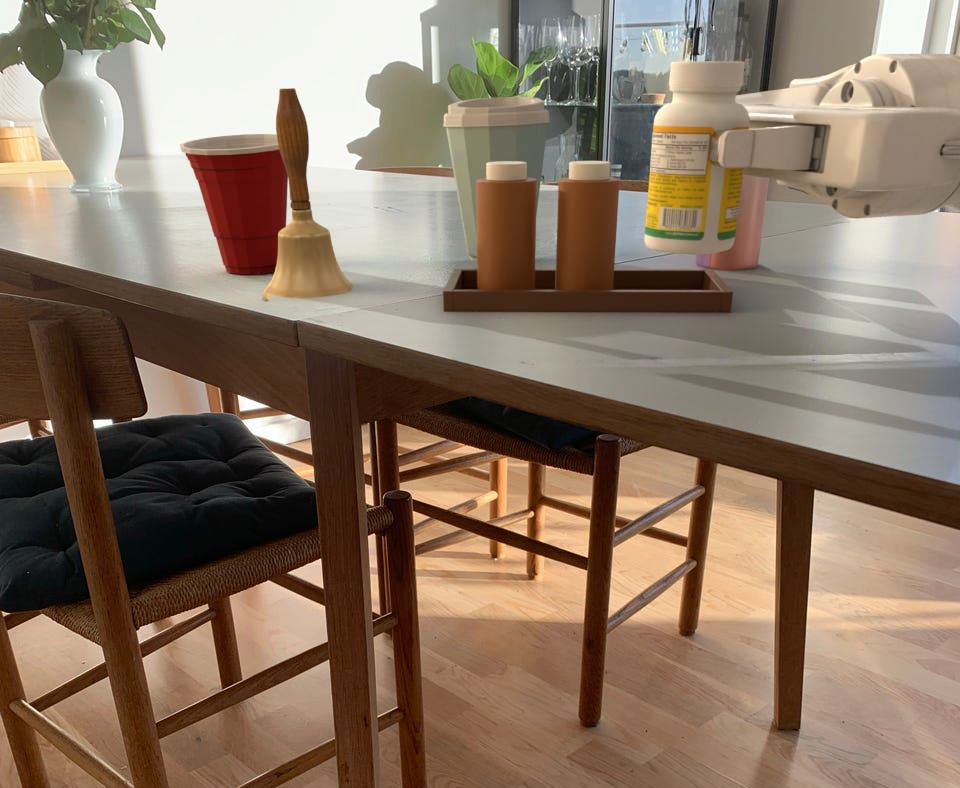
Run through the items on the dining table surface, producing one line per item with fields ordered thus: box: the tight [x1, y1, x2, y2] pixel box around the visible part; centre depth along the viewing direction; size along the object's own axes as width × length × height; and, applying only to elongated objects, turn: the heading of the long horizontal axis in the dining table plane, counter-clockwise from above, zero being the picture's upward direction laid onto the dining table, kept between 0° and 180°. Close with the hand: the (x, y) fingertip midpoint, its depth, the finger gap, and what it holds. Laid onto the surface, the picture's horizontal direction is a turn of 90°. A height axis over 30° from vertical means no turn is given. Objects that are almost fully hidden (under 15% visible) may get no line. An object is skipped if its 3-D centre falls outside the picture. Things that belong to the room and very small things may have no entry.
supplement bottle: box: [644, 60, 750, 255], centre depth 54 cm, size 5×5×10 cm
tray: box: [442, 268, 734, 314], centre depth 79 cm, size 23×11×2 cm, turn 87°
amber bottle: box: [555, 160, 621, 290], centre depth 76 cm, size 5×5×10 cm
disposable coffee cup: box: [442, 96, 551, 262], centre depth 96 cm, size 11×11×15 cm
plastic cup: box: [179, 133, 289, 275], centre depth 93 cm, size 11×11×12 cm
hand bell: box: [262, 87, 356, 301], centre depth 80 cm, size 8×8×16 cm
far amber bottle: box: [476, 161, 537, 290], centre depth 77 cm, size 5×5×10 cm
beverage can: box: [695, 175, 770, 272], centre depth 89 cm, size 6×6×15 cm
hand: (685, 145), depth 54 cm, fingers closed on supplement bottle, 5 cm apart
